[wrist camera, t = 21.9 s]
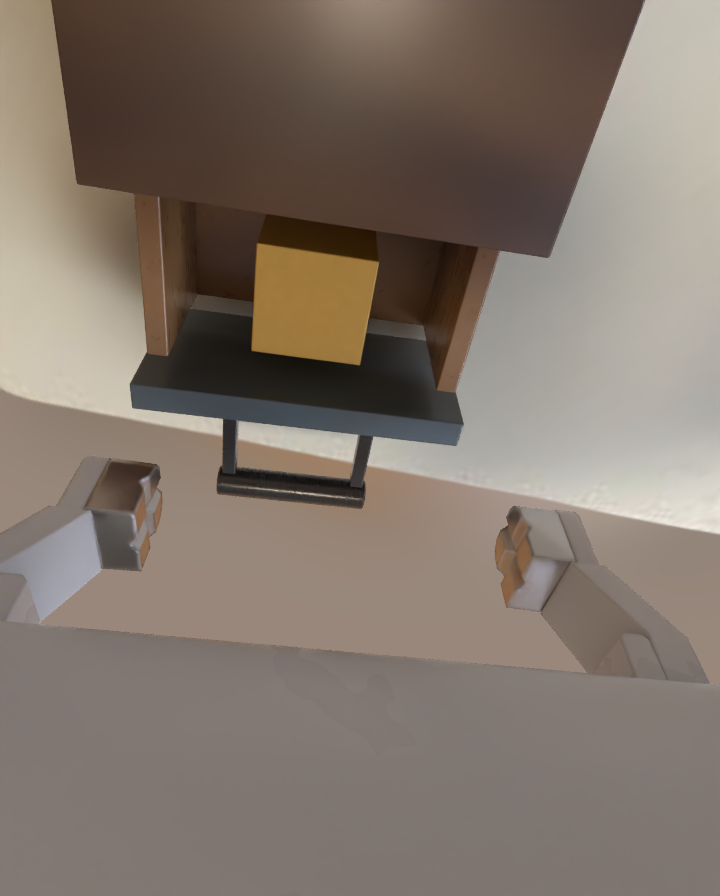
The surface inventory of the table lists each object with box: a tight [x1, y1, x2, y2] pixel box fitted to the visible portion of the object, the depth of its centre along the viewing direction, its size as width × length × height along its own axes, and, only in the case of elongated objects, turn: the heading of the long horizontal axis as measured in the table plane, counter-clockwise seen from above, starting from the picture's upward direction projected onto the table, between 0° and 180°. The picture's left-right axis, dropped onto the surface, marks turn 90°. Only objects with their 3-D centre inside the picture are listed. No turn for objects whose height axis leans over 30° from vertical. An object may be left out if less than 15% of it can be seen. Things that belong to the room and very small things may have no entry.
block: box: [251, 214, 379, 365], centre depth 24 cm, size 4×4×4 cm
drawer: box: [130, 193, 500, 509], centre depth 24 cm, size 20×13×7 cm
